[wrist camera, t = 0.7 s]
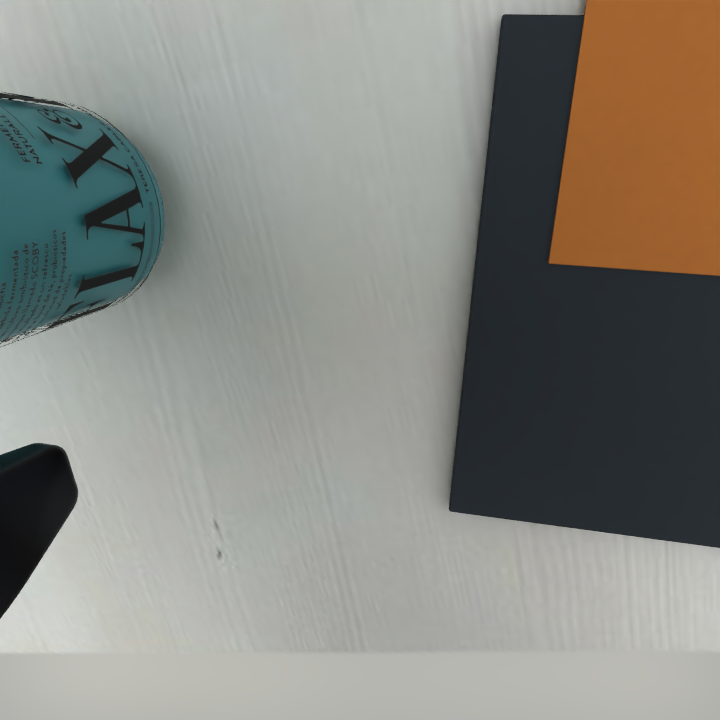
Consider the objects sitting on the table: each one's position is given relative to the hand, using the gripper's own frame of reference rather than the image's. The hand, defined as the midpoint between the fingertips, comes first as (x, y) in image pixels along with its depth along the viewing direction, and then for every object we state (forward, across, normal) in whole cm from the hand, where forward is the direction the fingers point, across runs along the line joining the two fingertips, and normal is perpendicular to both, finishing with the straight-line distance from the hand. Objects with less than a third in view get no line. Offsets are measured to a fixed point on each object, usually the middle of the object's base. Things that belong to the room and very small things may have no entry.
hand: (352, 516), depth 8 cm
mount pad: (+14, -6, +2) cm, 15 cm away
